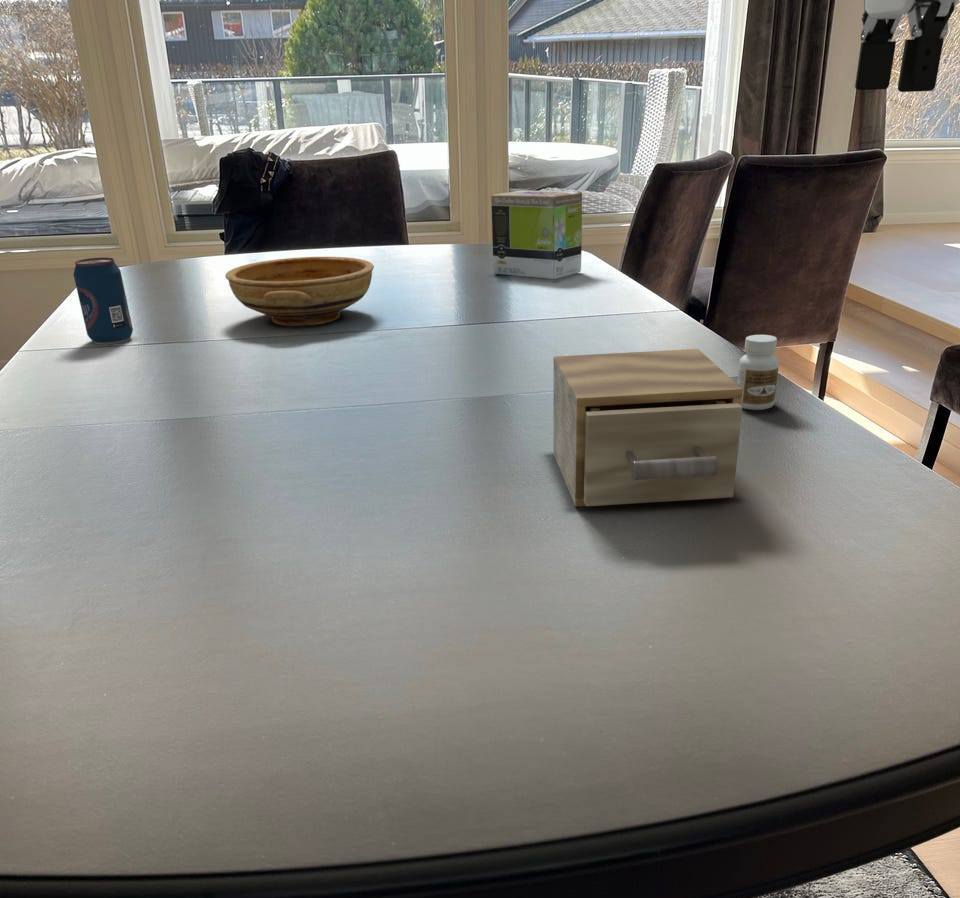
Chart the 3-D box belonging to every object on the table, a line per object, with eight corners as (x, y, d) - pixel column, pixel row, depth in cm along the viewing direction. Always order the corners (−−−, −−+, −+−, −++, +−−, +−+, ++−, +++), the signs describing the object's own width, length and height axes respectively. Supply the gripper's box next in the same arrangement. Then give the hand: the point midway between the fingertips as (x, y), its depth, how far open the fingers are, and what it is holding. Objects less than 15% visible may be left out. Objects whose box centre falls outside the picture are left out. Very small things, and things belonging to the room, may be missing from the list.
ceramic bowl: (255, 302, 178) (249, 255, 174) (388, 298, 176) (384, 251, 172) (210, 341, 152) (201, 287, 148) (365, 337, 151) (360, 283, 147)
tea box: (582, 272, 192) (584, 190, 185) (553, 281, 185) (554, 196, 178) (521, 266, 200) (520, 187, 193) (491, 274, 194) (489, 193, 186)
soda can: (81, 341, 155) (62, 261, 149) (121, 333, 159) (104, 255, 153) (102, 347, 151) (83, 265, 145) (142, 339, 155) (126, 259, 149)
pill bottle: (745, 412, 112) (752, 344, 108) (728, 402, 115) (734, 335, 112) (780, 408, 112) (789, 340, 109) (762, 398, 116) (770, 332, 112)
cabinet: (731, 497, 90) (742, 388, 85) (575, 507, 89) (576, 398, 84) (690, 445, 103) (698, 348, 98) (553, 453, 102) (553, 356, 97)
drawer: (750, 518, 84) (760, 424, 79) (595, 528, 83) (597, 433, 79) (694, 448, 99) (700, 366, 95) (563, 455, 99) (564, 373, 95)
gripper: (1028, -164, 75) (977, 90, 84) (926, -125, 90) (893, 87, 99) (932, -161, 75) (892, 93, 84) (846, -123, 90) (820, 90, 99)
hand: (892, 90), depth 91 cm, fingers open, 9 cm apart
